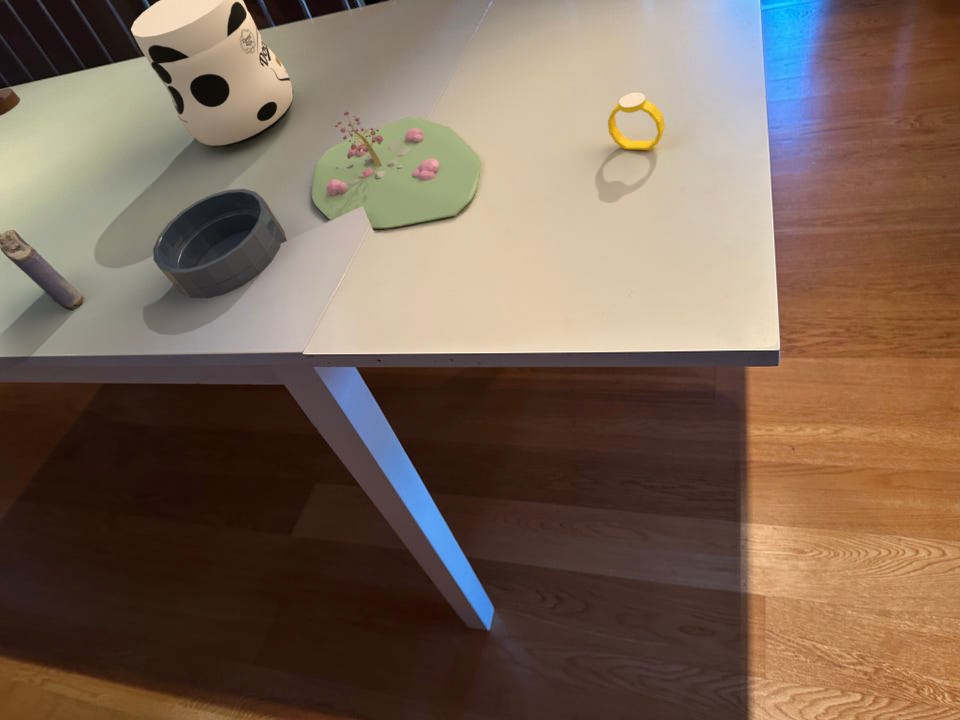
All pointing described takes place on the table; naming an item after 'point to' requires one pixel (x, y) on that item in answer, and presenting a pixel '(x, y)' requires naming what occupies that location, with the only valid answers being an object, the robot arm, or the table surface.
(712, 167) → the table surface
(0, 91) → the masher
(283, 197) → the table surface
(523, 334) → the table surface
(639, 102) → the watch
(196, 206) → the bowl
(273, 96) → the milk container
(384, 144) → the plant
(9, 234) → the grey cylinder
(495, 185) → the table surface
